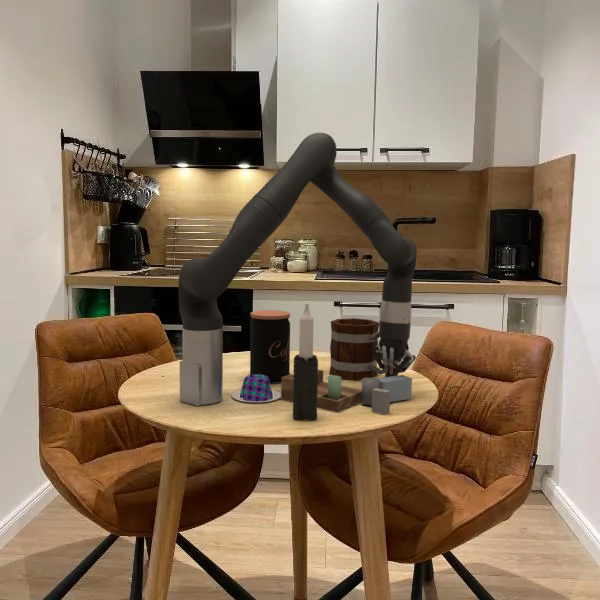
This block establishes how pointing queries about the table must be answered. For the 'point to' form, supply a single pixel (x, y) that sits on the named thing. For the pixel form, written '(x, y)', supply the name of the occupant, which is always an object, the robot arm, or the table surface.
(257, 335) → the coffee jar
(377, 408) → the block
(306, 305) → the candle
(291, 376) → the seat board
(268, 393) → the pudding
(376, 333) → the mug
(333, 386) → the dowel leg
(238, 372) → the table surface
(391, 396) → the hinged leg
